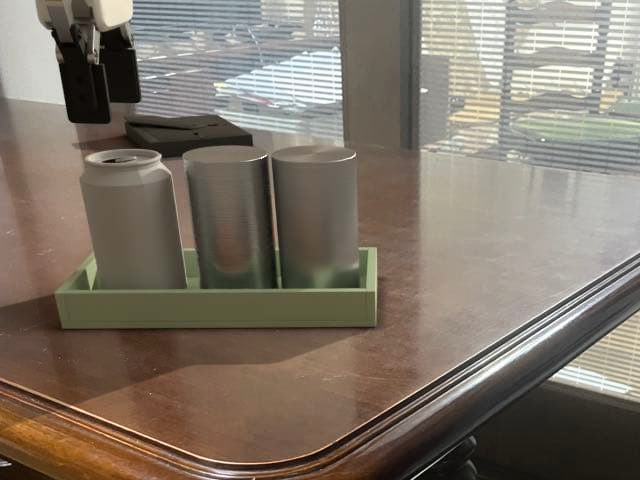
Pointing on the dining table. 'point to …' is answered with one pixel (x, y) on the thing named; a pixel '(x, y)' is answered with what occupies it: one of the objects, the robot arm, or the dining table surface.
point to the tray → (216, 302)
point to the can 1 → (133, 220)
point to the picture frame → (184, 133)
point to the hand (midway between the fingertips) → (107, 112)
